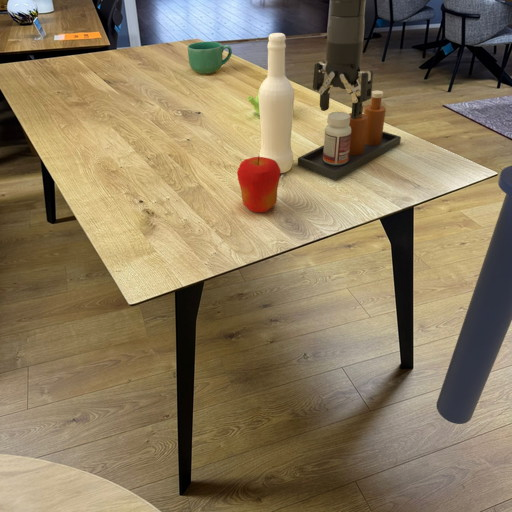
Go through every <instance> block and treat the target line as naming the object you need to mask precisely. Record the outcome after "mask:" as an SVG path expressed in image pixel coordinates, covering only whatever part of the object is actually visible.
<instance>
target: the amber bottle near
mask: <svg viewBox="0 0 512 512" xmlns="http://www.w3.org/2000/svg"><path fill="white" fill-rule="evenodd" d="M352 103H353V100H352V102H351V104H352ZM365 103H366V101H364V102H363V103H362V112H361V115H360V116H359V117H358V118H357V119H352V118H351V114H352V112H350V113H348V114H349V115H350V124H349V126H350V127H351V139H350V149H349V155H361V154H362V153H363V152H364V144H365V136H366V128H367V120H368V116H367V115H365V114H364V113H363V111H364V106H365Z"/></svg>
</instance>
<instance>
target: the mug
mask: <svg viewBox="0 0 512 512" xmlns="http://www.w3.org/2000/svg"><path fill="white" fill-rule="evenodd" d="M226 49H228V53H227V56H226V57H225V58H224V59H223V53H224V51H225V50H226ZM232 54H233V51H232V48H231V46H230V45H229V44H224V45H222V44H221V43H220V42H218V41H198V42H193V43H190V44H188V45H187V57H188V62H189V66H190V69H191V70H192V71H194V72H196V73H197V74H199V75H212V74H215V73H216V72H218V71H219V70H220V69H221V68H222V66H223V65H225V64H226V63H227V62H228V61H229V60H230V59H231V57H232Z"/></svg>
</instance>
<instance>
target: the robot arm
mask: <svg viewBox="0 0 512 512" xmlns="http://www.w3.org/2000/svg"><path fill="white" fill-rule="evenodd" d="M366 3H367V0H330V1H329V16H328V18H329V19H328V23H327V30H326V31H327V33H326V34H327V35H326V51H325V61H326V62H325V61H324V60H322V61H319V62H316V63H315V64H314V69H313V79H312V89H313V91H317V92H318V94H319V108H320V111H322V112H326V111H328V110H329V108H330V99H331V98H330V95H331V93H330V90H331V89H332V88H340V90H346V92H347V94H348V95H350V97H351V99H352V101H353V103H352V102H351V113H352V114H351V118H352V119H357V118H358V117H359V116H360V115H361V112H362V113H363V111H362V103H363V102H364V101H365V102H366V101H368V100H372V91H373V81H374V80H373V79H374V72H373V71H372V70H370V69H369V70H367V71H363V70H361V63H362V60H363V59H362V57H363V48H364V36H365V24H366V23H365V22H366V21H365V13H366ZM325 74H326V75H327V77H326V79H325ZM365 102H364V103H365Z"/></svg>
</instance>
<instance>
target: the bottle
mask: <svg viewBox="0 0 512 512" xmlns="http://www.w3.org/2000/svg"><path fill="white" fill-rule="evenodd" d="M286 37H287V36H286V34H284V33H282V32H273V33H270V34H269V35H268V43H267V46H266V47H267V76H266V77H265V78H264V80H263V81H262V83H261V84H260V87H259V88H260V89H259V88H258V89H259V94H258V93H257V94H258V99H259V112H260V115H259V123H260V136H261V146H260V150H259V153H258V156H259V157H264V158H270V159H272V160H275V161H276V162H277V164H278V166H279V168H280V175H281V174H285V173H287V172H289V171H290V170H291V169H292V167H293V163H294V154H293V150H292V144H291V143H292V129H293V120H294V119H293V118H294V106H295V89H294V87H293V84H292V83H291V81H290V80H289V79H288V78H287V76H286V47H287V45H286V40H287V38H286Z"/></svg>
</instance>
